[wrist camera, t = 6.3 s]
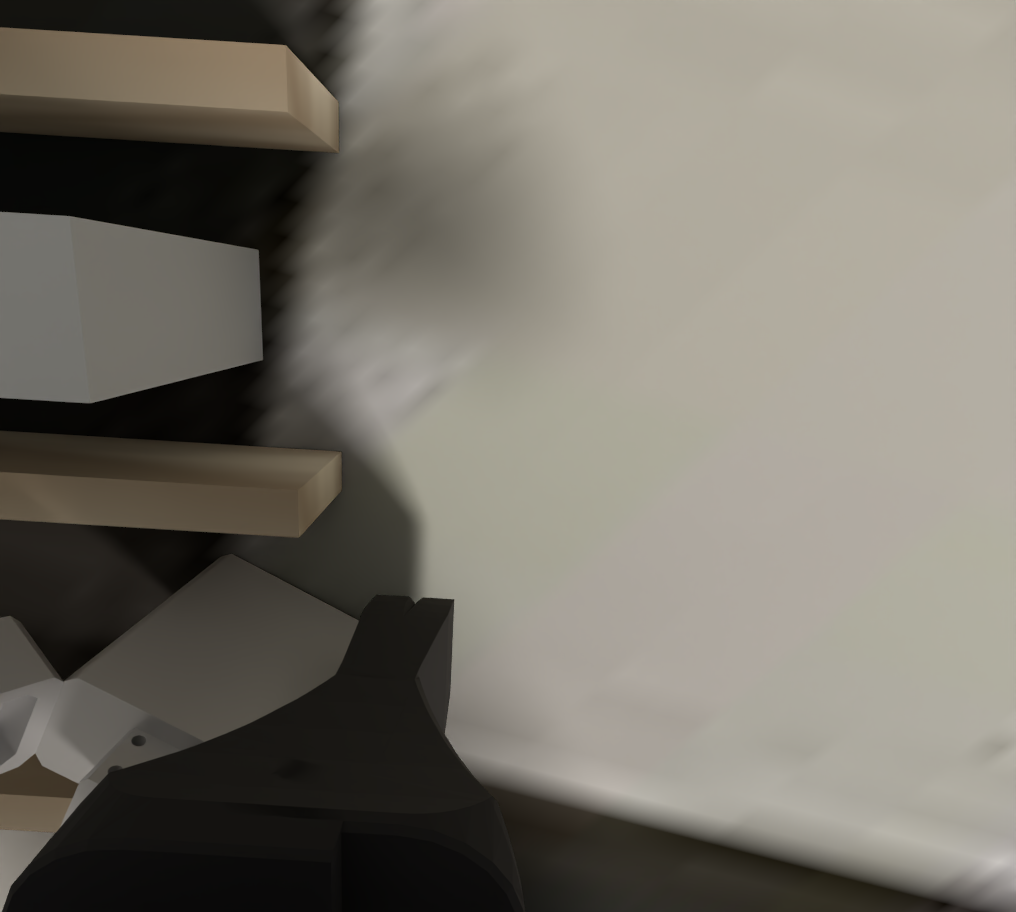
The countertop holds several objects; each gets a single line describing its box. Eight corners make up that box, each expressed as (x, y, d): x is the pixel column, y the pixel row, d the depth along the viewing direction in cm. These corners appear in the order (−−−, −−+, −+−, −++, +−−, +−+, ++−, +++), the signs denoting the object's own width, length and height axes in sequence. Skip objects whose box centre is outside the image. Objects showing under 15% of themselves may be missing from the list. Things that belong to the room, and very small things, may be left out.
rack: (344, 751, 14) (307, 847, 12) (-135, 722, 14) (-272, 812, 12) (338, 102, 11) (285, 45, 8) (-289, 63, 11) (-528, -6, 8)
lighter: (400, 642, 13) (178, 1149, 5) (366, 703, 13) (114, 1253, 6) (92, 480, 13) (-640, 777, 5) (67, 549, 13) (-642, 920, 5)
